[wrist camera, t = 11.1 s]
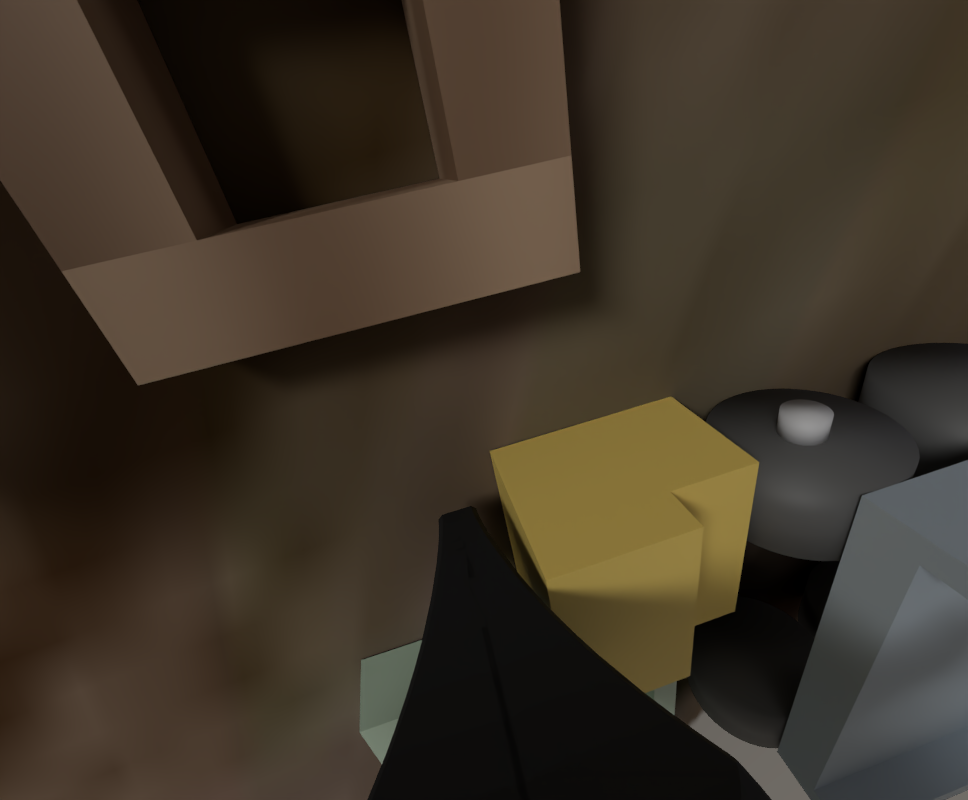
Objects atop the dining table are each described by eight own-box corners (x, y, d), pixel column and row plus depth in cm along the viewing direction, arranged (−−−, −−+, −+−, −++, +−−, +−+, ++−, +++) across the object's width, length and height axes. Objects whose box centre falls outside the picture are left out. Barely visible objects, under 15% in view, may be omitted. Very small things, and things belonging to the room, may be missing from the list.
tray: (643, 565, 14) (680, 619, 13) (644, 707, 19) (671, 761, 17) (361, 660, 14) (359, 732, 12) (435, 785, 18) (441, 850, 16)
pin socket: (471, -321, 5) (517, -553, 4) (539, 252, 9) (580, 272, 7) (-153, -256, 5) (-457, -501, 3) (187, 339, 8) (138, 385, 6)
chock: (671, 396, 11) (801, 493, 8) (666, 529, 14) (765, 647, 11) (489, 451, 11) (546, 580, 7) (519, 579, 13) (571, 721, 10)
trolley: (958, 311, 12) (1409, 420, 7) (855, 586, 18) (1054, 758, 13) (672, 395, 11) (937, 595, 6) (664, 655, 17) (792, 870, 12)
